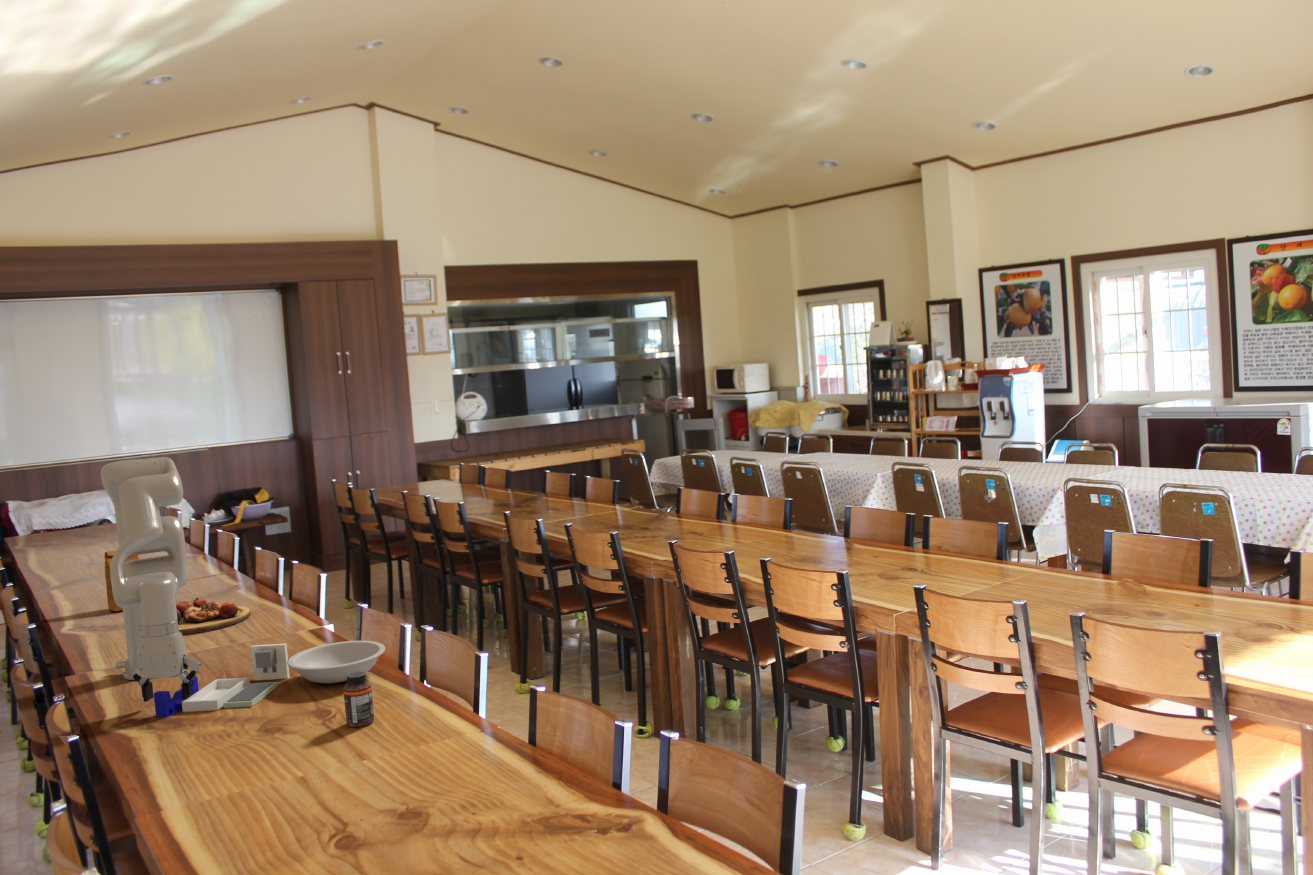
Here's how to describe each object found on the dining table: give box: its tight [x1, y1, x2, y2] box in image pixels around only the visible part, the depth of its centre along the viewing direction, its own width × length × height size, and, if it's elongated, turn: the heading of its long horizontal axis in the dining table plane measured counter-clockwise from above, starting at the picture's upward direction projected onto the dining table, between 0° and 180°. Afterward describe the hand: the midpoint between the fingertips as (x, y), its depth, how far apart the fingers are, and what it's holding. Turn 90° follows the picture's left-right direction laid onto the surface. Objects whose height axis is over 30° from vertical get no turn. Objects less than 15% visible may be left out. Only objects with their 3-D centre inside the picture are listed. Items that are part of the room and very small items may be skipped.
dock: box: [182, 677, 251, 713], centre depth 235 cm, size 9×17×2 cm, turn 178°
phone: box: [222, 681, 278, 709], centre depth 235 cm, size 7×14×1 cm, turn 178°
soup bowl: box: [287, 640, 386, 684], centre depth 245 cm, size 24×24×7 cm
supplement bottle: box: [343, 671, 375, 728], centre depth 211 cm, size 6×6×11 cm
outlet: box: [250, 643, 291, 681], centre depth 247 cm, size 9×4×9 cm, turn 88°
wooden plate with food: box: [176, 597, 252, 635], centre depth 315 cm, size 32×32×8 cm
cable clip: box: [153, 675, 200, 719], centre depth 230 cm, size 12×4×6 cm, turn 171°
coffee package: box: [103, 550, 140, 612], centre depth 343 cm, size 10×12×22 cm
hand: (168, 698), depth 230 cm, fingers open, 9 cm apart
